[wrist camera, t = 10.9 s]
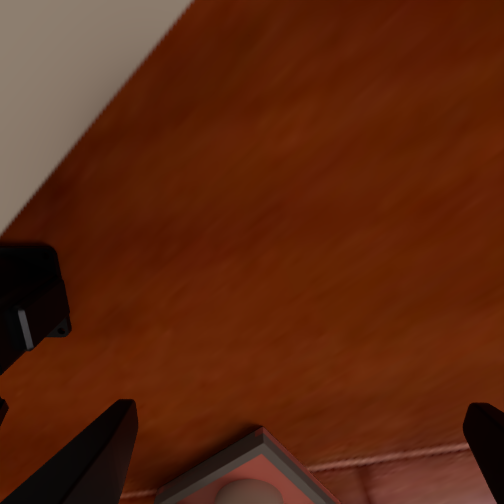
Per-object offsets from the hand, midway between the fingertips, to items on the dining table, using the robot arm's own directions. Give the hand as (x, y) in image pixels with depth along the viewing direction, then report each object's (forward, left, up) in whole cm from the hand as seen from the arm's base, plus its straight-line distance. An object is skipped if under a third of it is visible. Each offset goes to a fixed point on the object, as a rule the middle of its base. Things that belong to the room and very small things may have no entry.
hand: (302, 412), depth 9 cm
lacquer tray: (-1, -23, -13) cm, 26 cm away
